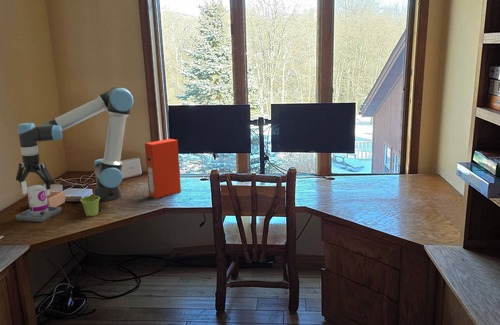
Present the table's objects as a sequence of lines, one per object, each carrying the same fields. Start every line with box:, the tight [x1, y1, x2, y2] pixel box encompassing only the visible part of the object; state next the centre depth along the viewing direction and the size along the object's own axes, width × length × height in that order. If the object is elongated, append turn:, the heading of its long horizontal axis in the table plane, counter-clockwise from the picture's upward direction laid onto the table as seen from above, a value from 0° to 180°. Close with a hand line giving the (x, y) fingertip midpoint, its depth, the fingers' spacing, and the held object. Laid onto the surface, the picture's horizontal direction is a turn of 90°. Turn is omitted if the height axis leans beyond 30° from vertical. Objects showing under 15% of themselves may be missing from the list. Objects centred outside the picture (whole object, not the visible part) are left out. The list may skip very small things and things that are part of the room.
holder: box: [27, 190, 66, 208], centre depth 226 cm, size 13×13×6 cm
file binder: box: [144, 138, 182, 200], centre depth 239 cm, size 8×17×32 cm, turn 135°
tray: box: [15, 206, 63, 223], centre depth 211 cm, size 15×15×2 cm
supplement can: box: [26, 184, 49, 217], centre depth 209 cm, size 8×8×15 cm
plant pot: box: [80, 195, 100, 217], centre depth 211 cm, size 9×9×9 cm
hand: (36, 194), depth 208 cm, fingers open, 13 cm apart
